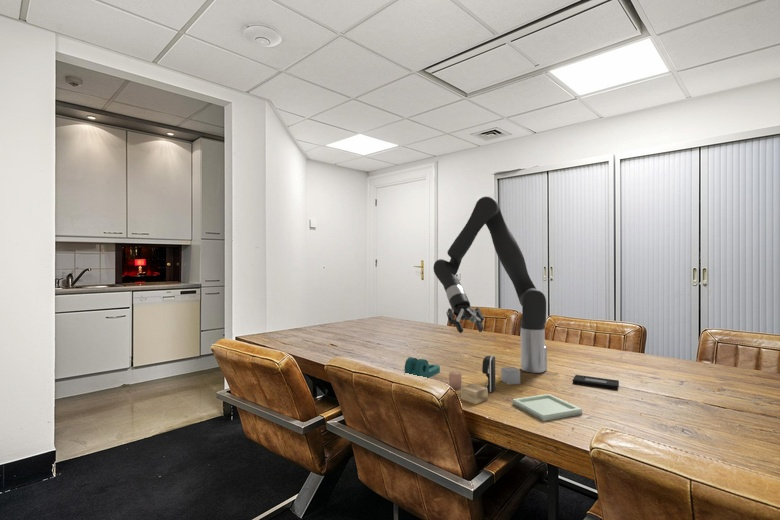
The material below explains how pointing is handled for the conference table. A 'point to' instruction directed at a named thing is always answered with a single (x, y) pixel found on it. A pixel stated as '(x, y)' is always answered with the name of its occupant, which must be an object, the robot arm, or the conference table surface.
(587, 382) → the vhs tape
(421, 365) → the bracket
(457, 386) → the pink glossy rounded part
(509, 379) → the grey box
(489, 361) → the battery charger
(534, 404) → the tray
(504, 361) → the conference table surface
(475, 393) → the oak block
